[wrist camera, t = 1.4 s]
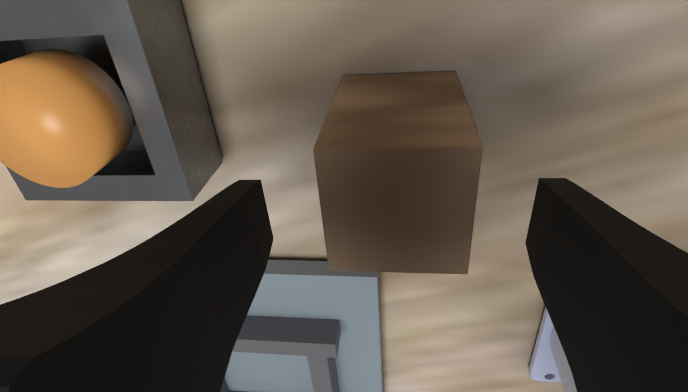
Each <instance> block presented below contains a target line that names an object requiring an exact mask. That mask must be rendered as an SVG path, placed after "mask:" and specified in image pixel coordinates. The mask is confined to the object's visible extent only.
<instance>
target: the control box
mask: <svg viewBox="0 0 688 392" xmlns="http://www.w3.org/2000/svg"><path fill="white" fill-rule="evenodd" d="M43 49H63V50H67V51H71V52H74V53H76V54H79V55H81V56H83V57H85V58H87V59H89V60H90V61H92V62H93V63H95V64H96V65H98V66H99V67H100V68H101V69H102V70H104V71H105V72H106V73H107V74H108V75H109V76H110V77H111V78H112V79H113V80H114V82H115V83H116V84H117V85H118V87H119V88H120V90H121V91H122V93H123V94H124V96H125V98H126V100H127V102H128V104H129V107H130V110H131V113H132V119H133V134H132V138H131V140H130V143H129V145H128V146H127V147H126V149H125V150H124V151H123V152H121V153H120V154H119V155H118V156H117V157H115V158H114V159H113V160H112V161H110V162H109V163H108V164H107V165H105V166H104V167H103V168H102V169H100V170H99V171H98V172H97V173H95V174H94V175H93V176H92V177H90V178H89V179H88V180H87V181H85V182H83V183H82V184H80V185H77V186H74V187H69V188H55V187H49V186H45V185H41V184H38V183H36V182H33V181H31V180H28V179H26V178H24V177H22V176H21V175H19V174H17V173H16V172H14V171H13V170H11V169H10V168H8V167H7V166H6V167H7V169H8V170H9V172H10V174H11V176H12V177H13V179H14V181H15V182H16V184H17V186H18V187H19V189H20V191H21V192H22V194H23V196H24V198H25V199H26V200H89V201H193V200H194V199H195V198H196V196H197V195H198V194H199V192H200V191H201V190H202V188H203V187H204V186H205V184H206V183H207V182H208V181H209V179H210V178H211V177H212V175H213V174H214V173H215V171H216V170H217V169H218V168H219V166H220V165H221V164H222V158H221V154H220V151H219V147H218V143H217V139H216V136H215V132H214V128H213V124H212V121H211V117H210V113H209V109H208V105H207V102H206V98H205V94H204V90H203V87H202V83H201V79H200V75H199V72H198V68H197V64H196V60H195V56H194V53H193V49H192V45H191V41H190V38H189V34H188V30H187V26H186V23H185V19H184V15H183V11H182V7H181V4H180V0H0V64H1V63H4V62H7V61H10V60H13V59H16V58H19V57H22V56H25V55H28V54H31V53H34V52H36V51H40V50H43Z"/></svg>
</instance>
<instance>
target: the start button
mask: <svg viewBox="0 0 688 392" xmlns="http://www.w3.org/2000/svg"><path fill="white" fill-rule="evenodd" d="M132 134H133V119H132V113H131V110H130V107H129V104H128V102H127V100H126V98H125V96H124V94H123V93H122V91H121V90H120V88H119V87H118V85H117V84H116V83H115V82H114V80H113V79H112V78H111V77H110V76H109V75H108V74H107V73H106V72H105V71H104V70H102V69H101V68H100V67H99V66H98V65H96V64H95V63H93V62H92V61H90V60H89V59H87V58H85V57H83V56H81V55H79V54H76V53H74V52H71V51H67V50H63V49H43V50H40V51H36V52H34V53H31V54H28V55H25V56H22V57H19V58H16V59H13V60H10V61H7V62H4V63H1V64H0V161H1V162H2V163H3V164H4V165H6V166H7V167H8V168H10V169H11V170H13V171H14V172H16V173H17V174H19V175H21V176H22V177H24V178H26V179H28V180H31V181H33V182H36V183H38V184H41V185H45V186H49V187H55V188H69V187H74V186H77V185H80V184H82V183H83V182H85V181H87V180H88V179H89V178H90V177H92V176H93V175H94V174H95V173H97V172H98V171H99V170H100V169H102V168H103V167H104V166H105V165H107V164H108V163H109V162H110V161H112V160H113V159H114V158H115V157H117V156H118V155H119V154H120V153H121V152H123V151H124V150H125V149H126V147H127V146H128V145H129V143H130V140H131V138H132Z"/></svg>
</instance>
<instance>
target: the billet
mask: <svg viewBox="0 0 688 392" xmlns="http://www.w3.org/2000/svg"><path fill="white" fill-rule="evenodd" d="M313 151H314V159H315V167H316V175H317V182H318V190H319V198H320V206H321V213H322V221H323V229H324V237H325V244H326V252H327V260H328V268H329V270H335V271H370V272H405V273H440V274H468V267H469V258H470V249H471V241H472V232H473V224H474V215H475V206H476V198H477V189H478V181H479V172H480V164H481V155H482V144H481V142H480V139H479V136H478V133H477V130H476V127H475V125H474V122H473V119H472V116H471V113H470V111H469V108H468V105H467V102H466V99H465V96H464V94H463V91H462V88H461V85H460V82H459V79H458V77H457V74H456V71H446V72H421V73H396V74H370V75H345V76H343V77H342V80H341V82H340V85H339V87H338V90H337V92H336V95H335V97H334V100H333V102H332V104H331V107H330V109H329V112H328V114H327V117H326V119H325V122H324V124H323V127H322V129H321V132H320V134H319V136H318V139H317V141H316V144H315V146H314V149H313Z"/></svg>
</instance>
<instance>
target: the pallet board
mask: <svg viewBox="0 0 688 392" xmlns="http://www.w3.org/2000/svg"><path fill="white" fill-rule="evenodd" d="M220 392H383V368H382V344H381V320H380V296H379V272H370V271H335V270H329V268H328V261H301V260H268V262H267V266H266V270H265V272H264V275H263V277H262V280H261V282H260V285H259V287H258V290H257V292H256V295H255V297H254V299H253V302H252V304H251V306H250V309H249V311H248V314H247V316H246V318H245V321H244V323H243V326H242V328H241V330H240V333H239V335H238V338H237V340H236V343H235V346H234V348H233V351H232V354H231V357H230V361H229V364H228V367H227V371H226V374H225V378H224V381H223V384H222V388H221V391H220Z"/></svg>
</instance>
